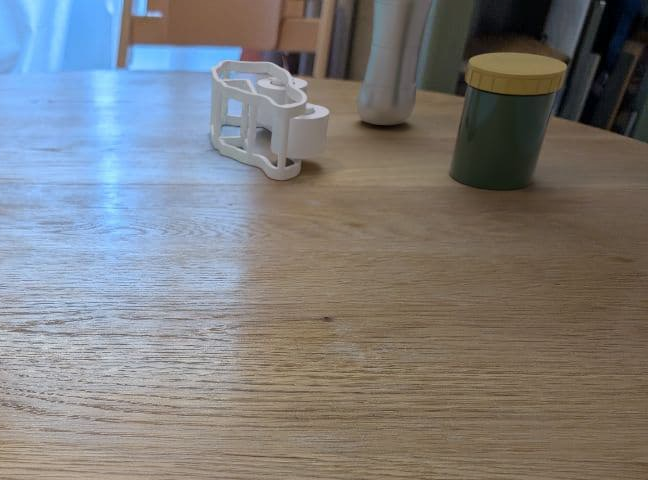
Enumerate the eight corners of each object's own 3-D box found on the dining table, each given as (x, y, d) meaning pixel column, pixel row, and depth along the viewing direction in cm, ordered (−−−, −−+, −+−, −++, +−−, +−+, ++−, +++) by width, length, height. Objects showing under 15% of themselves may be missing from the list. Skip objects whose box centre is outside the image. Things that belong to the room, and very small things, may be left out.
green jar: (531, 166, 89) (559, 61, 83) (534, 193, 83) (564, 82, 76) (450, 159, 91) (472, 56, 85) (447, 185, 85) (470, 76, 79)
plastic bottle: (343, 119, 104) (368, -68, 92) (392, 112, 105) (422, -72, 94) (372, 134, 99) (402, -61, 87) (423, 127, 100) (459, -65, 89)
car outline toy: (331, 178, 87) (340, 106, 83) (224, 181, 87) (228, 109, 83) (294, 120, 104) (300, 57, 99) (204, 123, 104) (206, 60, 99)
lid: (559, 74, 83) (564, 55, 82) (564, 98, 77) (570, 77, 76) (465, 69, 86) (469, 50, 85) (463, 91, 80) (467, 71, 78)
